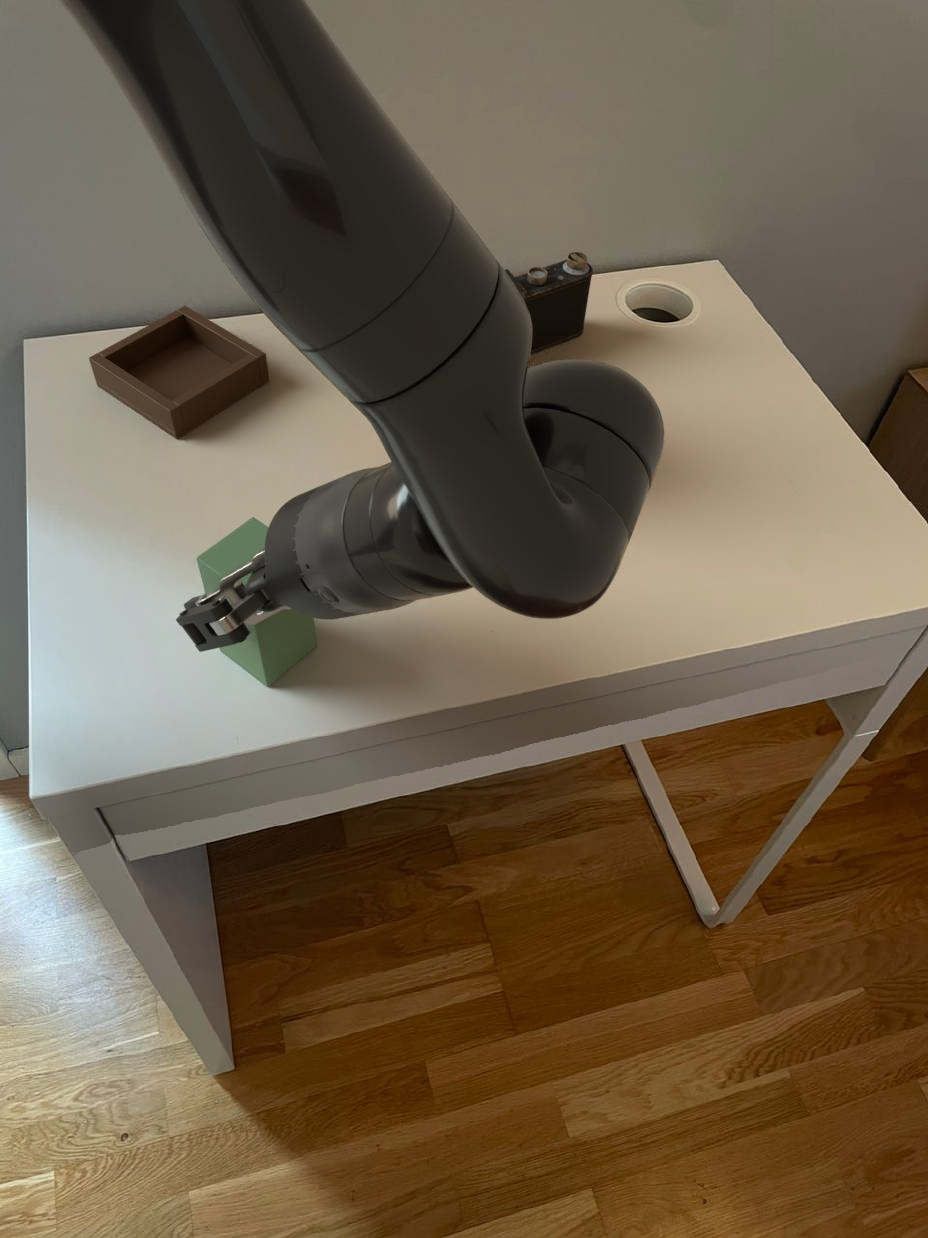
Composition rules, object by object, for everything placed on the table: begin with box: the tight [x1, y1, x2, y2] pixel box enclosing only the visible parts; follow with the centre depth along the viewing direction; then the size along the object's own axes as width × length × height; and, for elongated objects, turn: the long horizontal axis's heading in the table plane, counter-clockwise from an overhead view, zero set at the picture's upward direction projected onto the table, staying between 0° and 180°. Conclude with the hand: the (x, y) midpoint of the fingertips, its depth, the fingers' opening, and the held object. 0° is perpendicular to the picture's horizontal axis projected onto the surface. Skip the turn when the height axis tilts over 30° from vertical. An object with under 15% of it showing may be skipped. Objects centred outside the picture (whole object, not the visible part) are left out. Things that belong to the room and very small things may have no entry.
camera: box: [504, 251, 594, 356], centre depth 92 cm, size 16×7×8 cm, turn 123°
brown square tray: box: [88, 305, 270, 440], centre depth 88 cm, size 11×11×3 cm
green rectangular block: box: [195, 516, 318, 688], centre depth 67 cm, size 5×5×10 cm
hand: (244, 578), depth 66 cm, fingers open, 8 cm apart
